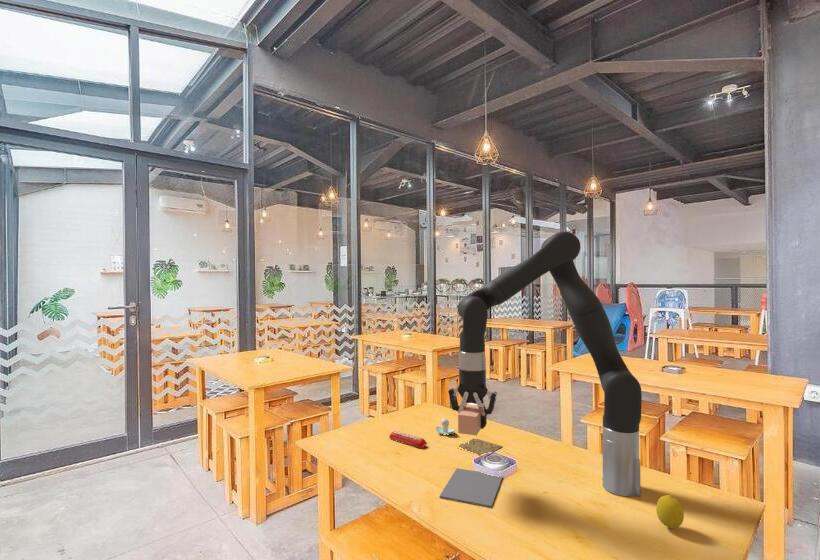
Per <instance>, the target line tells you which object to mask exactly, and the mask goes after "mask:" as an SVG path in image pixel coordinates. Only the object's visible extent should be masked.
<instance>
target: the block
mask: <svg viewBox="0 0 820 560" xmlns="http://www.w3.org/2000/svg"><path fill="white" fill-rule="evenodd" d="M485 407H486V405H485ZM486 408H487V407H486ZM457 424H458V425H457V426H458V427H457V429H458V430H457V432H458V433H457V434H461V435H470V436H477V435H478V434H479V432H481V430H482V429H481V411H480V410H479V408H478V406H477V404H474V403H467V404H466V407H465V408H464V409H463V410H462V411H461V412H460V413H459V412H458V415H457Z"/></svg>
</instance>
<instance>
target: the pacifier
mask: <svg viewBox="0 0 820 560" xmlns="http://www.w3.org/2000/svg"><path fill="white" fill-rule="evenodd" d="M440 422H441V425H442V426H436V427H435V430H436V432H437V433H439V434H440V435H442V434H452V435H455V434H456V432H455V428H454V429H453V428H452V429H451V428H449V425H450V422H449V420H448V419H447V418H442V419H441V421H440ZM454 433H455V434H454Z"/></svg>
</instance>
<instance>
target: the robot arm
mask: <svg viewBox="0 0 820 560" xmlns="http://www.w3.org/2000/svg"><path fill="white" fill-rule="evenodd" d="M580 252H581V241H580V239H579V238H578V237H577V235H575V234H574V233H572V232H569V231H559V232H556V233H553V234H552V235H550V236H549V237H548V238H546V239H545V240H544V241H543V242H542V243H541V245H540V249H539V250H537V251H536V252H535V253H533V254H532V255H531V256H530V257H529V256H528V258H526V259H525V260H523V261H521V262H520V263H517V264H516V265H514V266H512V267H511V268H509V269H508V270H506V271H504V272H503V273H500V274H499V275H498V276H497V277H495V278H494V279H492V280H491V281H489V282H488V283H486V284H485V285H483V286H481V287H480V288H478V289H475V290H474V291H472V292H471V293H469V294H467V295H465V296H464V297H463V298H461V299H460V301H459V302H458V305H457V313H458V316H460V318H462V330H461V332H460V333H459V335H460V336H459V358H458V387H456V388H454V387H451V388H450V389H449V390H448V396H449V400H450V405H451V408H452V411H454V412H455V411H456V412H457V413H458V414H459V413H460V412H461V411H462V410H463V409H464V408H465V407H466V405H467V404H468V403H474V404H477V406H478V408H479V410H480V411H481V429H480V430H484V429H485V427H486V426H487V423H488V422H487V416H488V415H491V414H492V413H493V412H494V409H495V404H496V400H497V396H498V392H497V391H491V390H488V388H487V367H486V366H487V365H486V364H487V362H486V361H487V360H486V359H487V358H486V352H485V351H486V349H485V347H486V343H485V340H486V337H485V334H486V329H487V323H488V310H489V309H491V308H492V307H493V308H494V307H495V306H499V305H501V304H503V303H505V302H507V301H508V300H510V299H511V298H513V297H514V296H515V295H517V294H518V293H520V292H521V291H522V290H524V289H525V288H527V287H528V286H529V285H531V284H532V283H534V282H535V281H536V280H537V279H539V278H540V277H542V276H544V275H545V274H547V273H548V272H549V273H550V275H551V277H552V279H553V280H554V281H555V284H556V286H557V288H558V290H559V293H560V296H561V297H562V300H563V302H564V305H565V307H566V309H567V312H568V314H569V316H570V317H569V318H570V319H571V321H572V323H573V325H574V327H575V330H576V331H577V334H578V335H579V338H580V339H581V341H582V343H583V344H584V347H586V349H587V350H588V352H589V354H590V356H591V359H592V360H593V362H594V365H595V368H596V371H597V374H598V377H599V378H598V379H599V381H600V386H601V388H602V391H603V394H604V396H603V397H604V398H603V399H604V401H603V402H604V403H603V404H604V405H603V406H604V407H603V415H602V478H601V479H602V487H603V488H604V490H605V491H607V492H609V493H612V494H614V495H617V496H622V497H634V496H637V497H641V459H640V424H641V421H642V402H643V401H642V399H643V398H642V395H643V394H642V386H641V383H640V382H639V380H638V379H637V377H635V375H633V374H632V373H631V371H630V370H629V368H628V365H626V363H625V362H624V359H623V357H622V356H621V354H620V352H619V350H618V347H617V345H616V340H615V336H614V332H613V331H614V330H613V328H612V325H611V323H610V320H609V316H608V315H607V313H606V310H605V308H604V307H603V304H602V302H601V300H600V299H599V297H598V296H597V294H596V293H595V292H594V291H593V290H592V288H590V286H588V284H587V283H586V282H584V280H583V278H582V277H581V275H580V273H579V271H578V270H577V267H576V265H575V263H574V261H575V259H577V257H578V256H579V254H580ZM458 394H459V395H460V396H461V401H460V404H459V402H458V398H457V396H458ZM486 396H487V398H488V400H489V403H488V407H485V406H486V403H485V401H484V398H485V397H486Z"/></svg>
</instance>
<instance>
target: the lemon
mask: <svg viewBox="0 0 820 560" xmlns="http://www.w3.org/2000/svg"><path fill="white" fill-rule="evenodd" d="M682 505H683V504H682V503H681V502H680V501H679V500H678V498H676V497H674V496H672V494H668V495H667V494H666V495H662V496H661V497H660V498H659V499H658V500H657V503H656V508H655V509H656V515H657V518H658V520H659V521H660V523H662V525H664V527H665V526H666V527H667V528H668V529H669V530H672V529H676V528H679V527H680V526H681V525H682V524H683V522H684V517H685V515H684V514H685V513H684V509H683V506H682Z"/></svg>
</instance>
